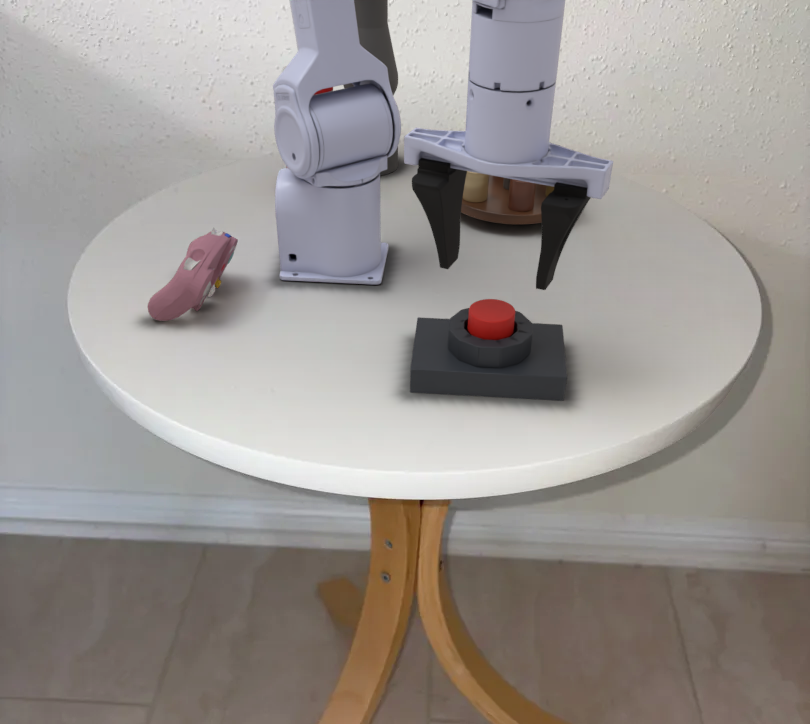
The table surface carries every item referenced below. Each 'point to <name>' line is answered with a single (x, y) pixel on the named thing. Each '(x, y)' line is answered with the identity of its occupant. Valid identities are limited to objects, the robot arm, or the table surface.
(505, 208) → the spice carousel
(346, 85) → the candle holder
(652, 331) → the table surface
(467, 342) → the timer block
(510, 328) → the timer button
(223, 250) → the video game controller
